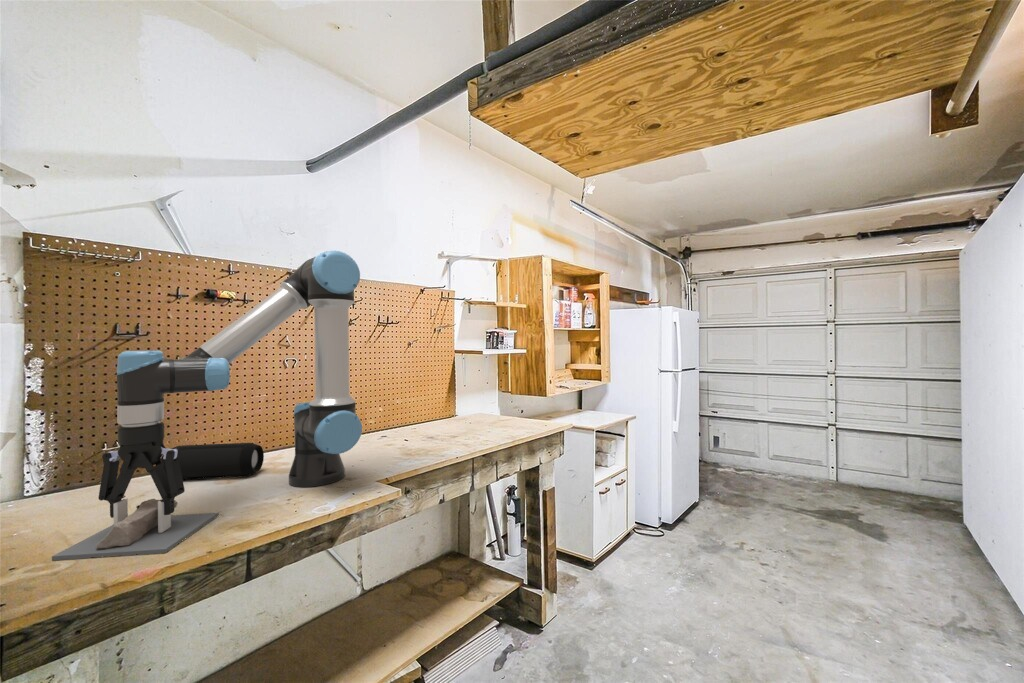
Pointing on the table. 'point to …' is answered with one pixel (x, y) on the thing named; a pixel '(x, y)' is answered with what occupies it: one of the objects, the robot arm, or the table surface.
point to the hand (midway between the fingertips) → (142, 530)
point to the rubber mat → (146, 544)
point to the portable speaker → (219, 460)
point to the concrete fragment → (133, 525)
